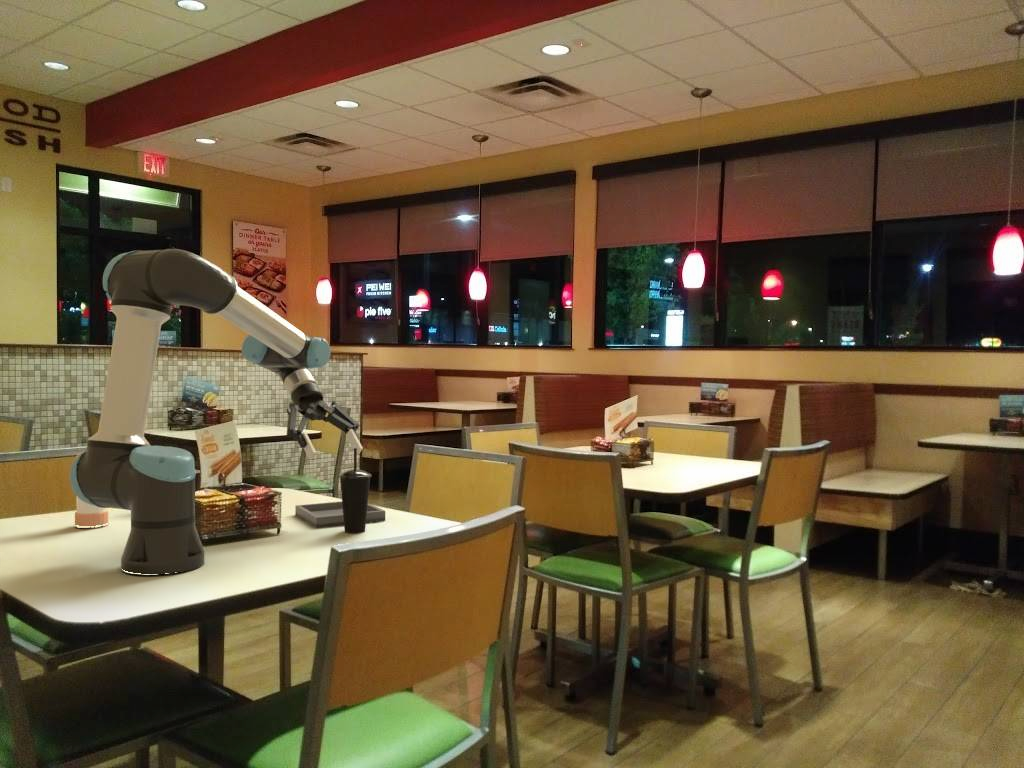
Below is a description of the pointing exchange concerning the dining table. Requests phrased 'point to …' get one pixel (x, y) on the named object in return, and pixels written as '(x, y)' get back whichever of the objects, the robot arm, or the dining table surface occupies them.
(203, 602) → the dining table surface
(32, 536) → the dining table surface
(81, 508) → the pepper shaker
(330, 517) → the serving tray
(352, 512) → the drinking cup
